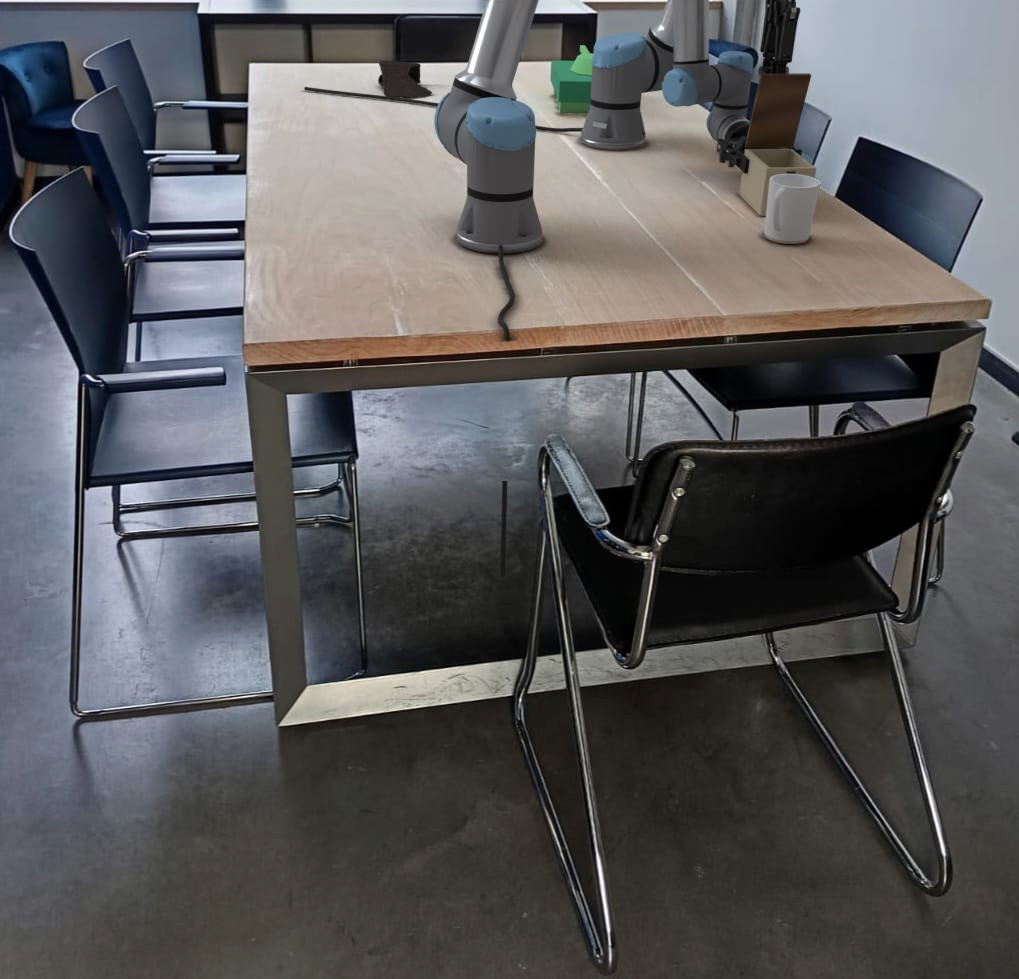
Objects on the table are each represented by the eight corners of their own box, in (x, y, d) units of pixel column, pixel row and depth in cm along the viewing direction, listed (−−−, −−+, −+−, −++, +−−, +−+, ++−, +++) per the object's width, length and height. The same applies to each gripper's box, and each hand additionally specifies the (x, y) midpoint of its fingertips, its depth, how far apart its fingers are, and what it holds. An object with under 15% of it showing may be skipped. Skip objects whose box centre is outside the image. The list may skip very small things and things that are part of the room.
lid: (811, 75, 208) (799, 56, 214) (761, 75, 207) (751, 56, 213) (793, 147, 219) (782, 127, 224) (745, 147, 218) (736, 127, 223)
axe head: (443, 87, 294) (392, 77, 287) (436, 115, 299) (385, 106, 292) (421, 62, 307) (371, 52, 300) (414, 89, 311) (365, 80, 304)
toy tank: (613, 42, 302) (631, 66, 272) (610, 88, 309) (627, 117, 279) (549, 40, 301) (560, 65, 272) (547, 87, 308) (558, 116, 278)
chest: (808, 215, 212) (816, 168, 207) (759, 216, 211) (766, 168, 206) (785, 194, 224) (792, 148, 219) (739, 194, 223) (744, 149, 218)
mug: (775, 225, 205) (784, 170, 200) (819, 236, 201) (829, 180, 195) (747, 240, 198) (754, 183, 193) (791, 251, 193) (801, 193, 188)
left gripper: (823, -28, 198) (803, 105, 210) (791, -39, 213) (774, 86, 225) (783, -28, 197) (765, 106, 209) (754, -39, 212) (738, 86, 224)
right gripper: (787, 155, 239) (823, 184, 220) (687, 156, 237) (715, 185, 218) (793, 120, 235) (830, 146, 216) (691, 120, 233) (720, 147, 214)
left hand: (770, 95), depth 217 cm, fingers open, 5 cm apart
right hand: (772, 166), depth 217 cm, fingers closed on chest, 10 cm apart
